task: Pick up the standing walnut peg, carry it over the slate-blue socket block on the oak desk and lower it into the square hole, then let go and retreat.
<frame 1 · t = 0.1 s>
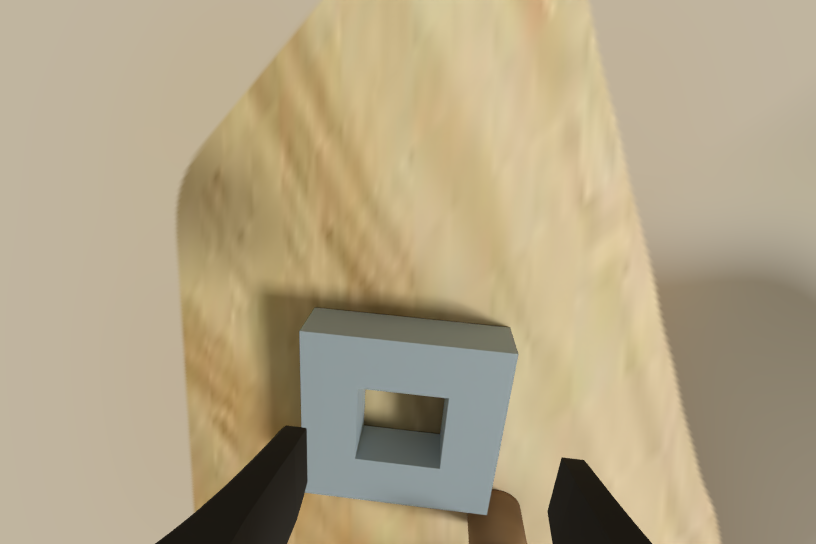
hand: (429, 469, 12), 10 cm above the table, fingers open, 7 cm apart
peg: (493, 509, 26), on the table
socket block: (404, 398, 23), on the table
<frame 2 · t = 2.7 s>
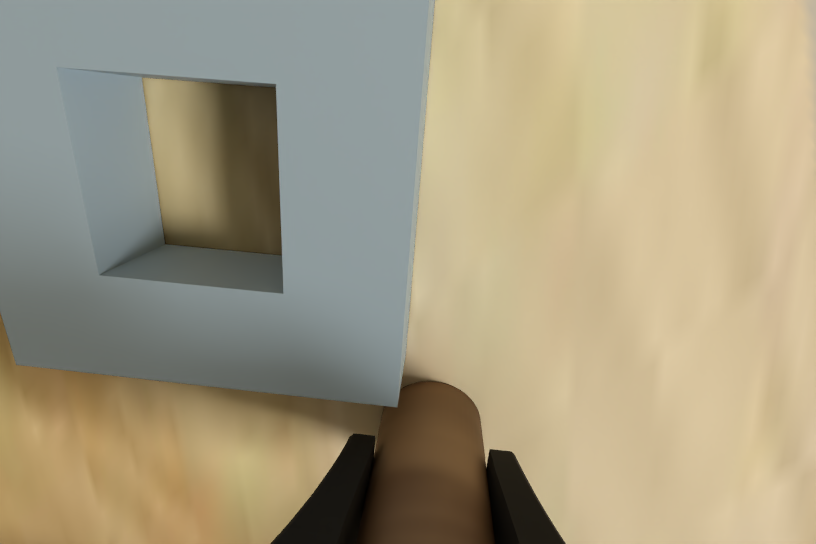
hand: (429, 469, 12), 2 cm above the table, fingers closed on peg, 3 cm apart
peg: (430, 423, 14), on the table, touching gripper
socket block: (233, 173, 11), on the table
when the fingers open (3 cm above the table, at t = 5.4 s): peg drops 1 cm, resting in socket block.
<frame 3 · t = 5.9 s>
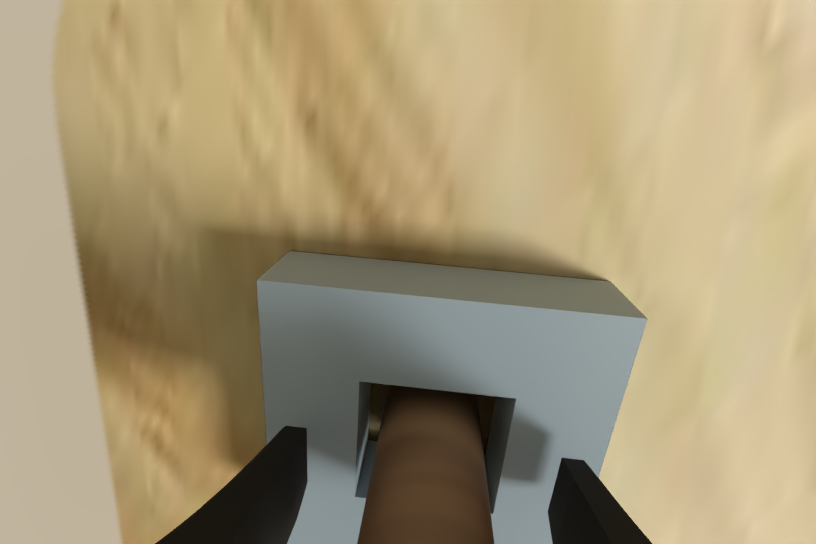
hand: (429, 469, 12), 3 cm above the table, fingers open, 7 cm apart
peg: (431, 400, 15), resting in socket block
socket block: (431, 398, 15), on the table
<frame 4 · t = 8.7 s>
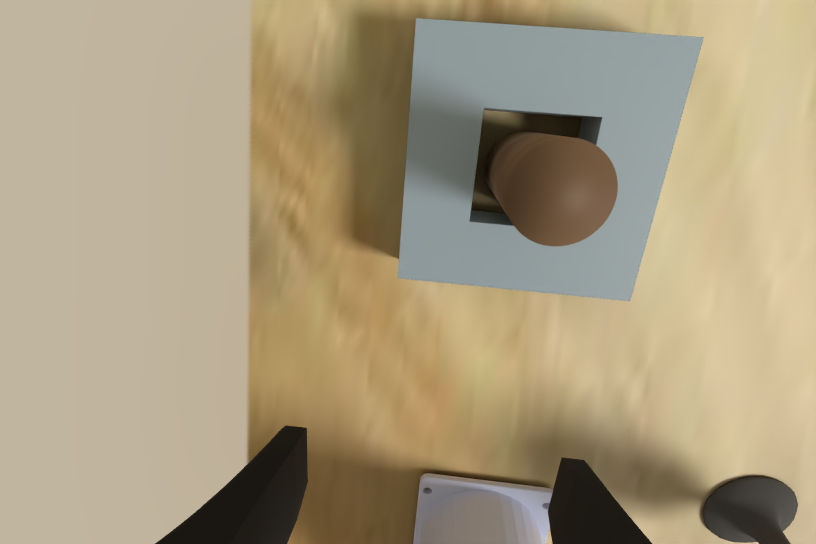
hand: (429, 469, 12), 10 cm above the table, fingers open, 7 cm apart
sundae: (747, 506, 24), on the table
peg: (520, 168, 19), resting in socket block
socket block: (521, 165, 19), on the table
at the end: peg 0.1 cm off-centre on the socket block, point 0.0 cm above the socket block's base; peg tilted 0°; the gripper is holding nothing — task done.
